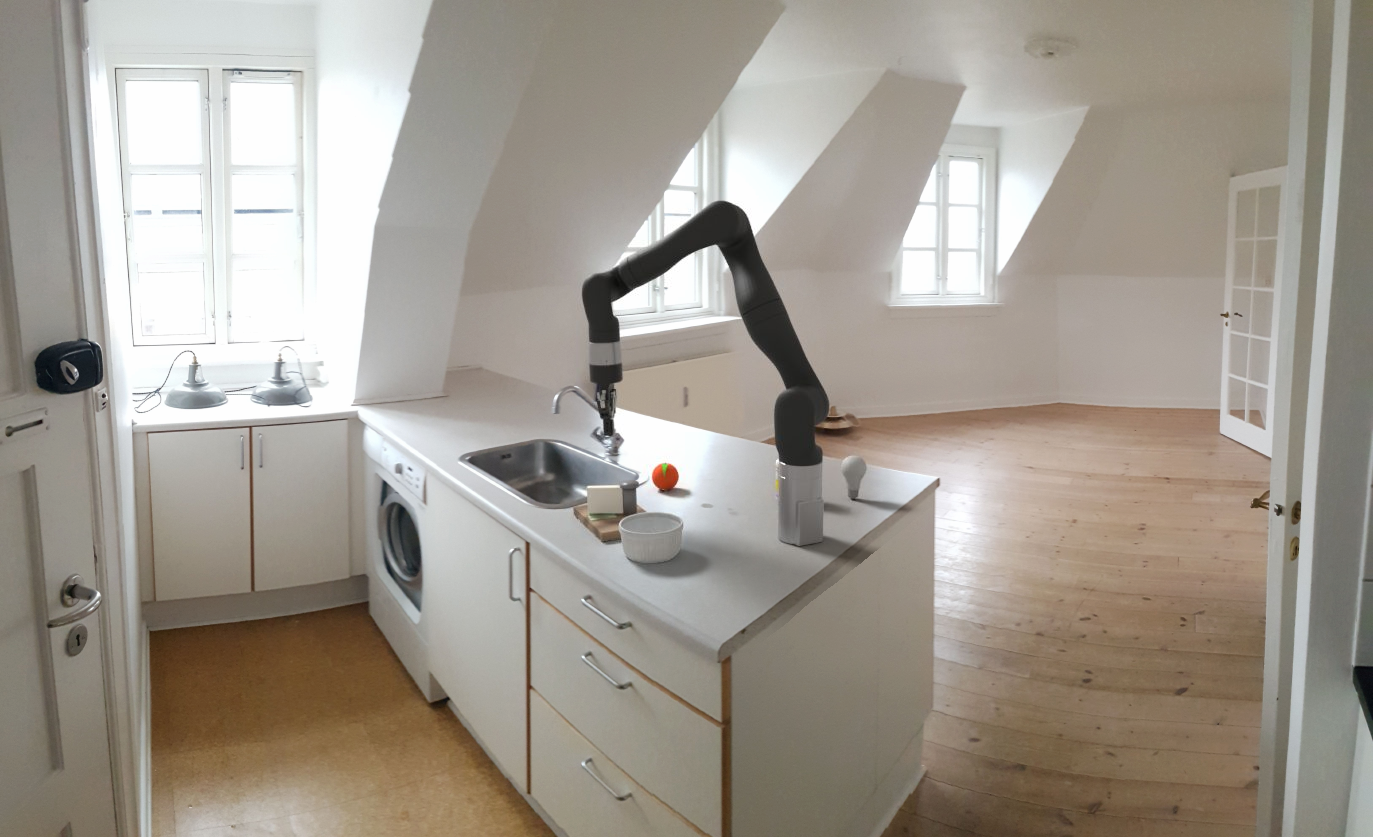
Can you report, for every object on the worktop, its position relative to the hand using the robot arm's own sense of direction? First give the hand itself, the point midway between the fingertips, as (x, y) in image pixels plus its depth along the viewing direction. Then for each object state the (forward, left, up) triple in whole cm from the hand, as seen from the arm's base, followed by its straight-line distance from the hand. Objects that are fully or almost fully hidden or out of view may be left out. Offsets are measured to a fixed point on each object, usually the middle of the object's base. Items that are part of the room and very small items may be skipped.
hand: (608, 435), depth 201 cm
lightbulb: (-18, -56, -19) cm, 62 cm away
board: (-8, +2, -19) cm, 20 cm away
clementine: (+10, -18, -19) cm, 28 cm away
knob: (-7, +2, -16) cm, 18 cm away
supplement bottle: (-11, -42, -19) cm, 48 cm away
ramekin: (-29, +2, -19) cm, 35 cm away
